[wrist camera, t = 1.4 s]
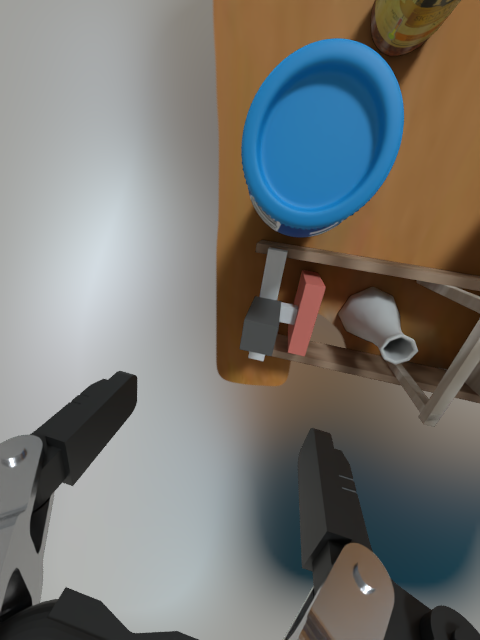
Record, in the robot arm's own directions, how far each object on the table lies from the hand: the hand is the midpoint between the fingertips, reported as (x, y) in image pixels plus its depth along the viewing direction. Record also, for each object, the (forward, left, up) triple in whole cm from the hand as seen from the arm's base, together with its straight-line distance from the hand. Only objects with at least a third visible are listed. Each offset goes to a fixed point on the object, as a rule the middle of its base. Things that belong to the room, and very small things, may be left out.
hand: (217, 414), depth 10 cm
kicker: (-3, +1, -24) cm, 24 cm away
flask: (-14, +2, -25) cm, 29 cm away
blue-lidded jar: (-2, -11, -25) cm, 27 cm away
